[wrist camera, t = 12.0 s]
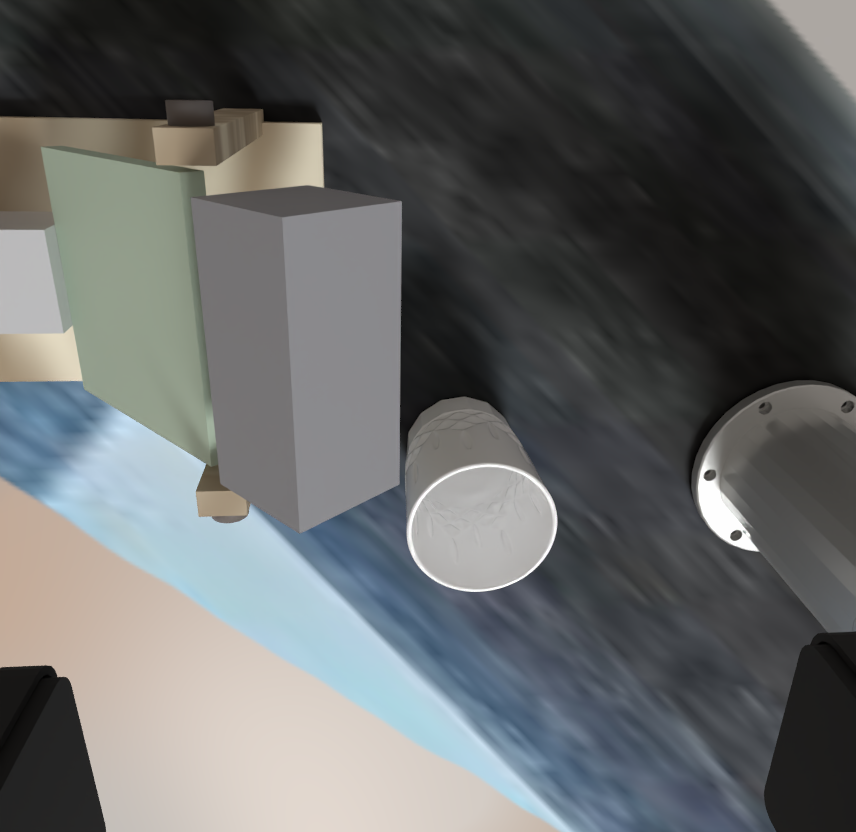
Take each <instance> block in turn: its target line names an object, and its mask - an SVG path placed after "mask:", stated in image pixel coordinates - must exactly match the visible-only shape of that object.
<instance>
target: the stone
mask: <svg viewBox="0 0 856 832" xmlns="http://www.w3.org/2000/svg"><path fill="white" fill-rule="evenodd" d="M72 326H73V324H72V319H71V313H70V307H69V302H68V296H67V291H66V285H65V280H64V274H63V268H62V263H61V257H60V252H59V246H58V241H57V235H56V230H55V224H54V218H53V213H52V212H33V211H0V334H55V333H65V332H66V331H67V330H68V329H69V328H70V327H72Z"/></svg>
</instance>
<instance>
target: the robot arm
mask: <svg viewBox="0 0 856 832" xmlns="http://www.w3.org/2000/svg"><path fill="white" fill-rule="evenodd" d="M691 489H692V494H693V500H694V504H695V506H696V508H697V510H698V512H699V515H700V516H701V518H702V519H703V520H704V522H705V523H706V524H707V526H708V527H709V528H710V529H711V530H712V531H713V532H714V533H715V534H716V535H717V536H718V537H719V538H720V539H722V540H724V541H725V542H727V543H728V544H730V545H733V546H736V547H739V548H741V549H744V550H750V551H757V552H761V554H762V555H763V556H764V557H765V558H766V559H767V561H768V562H769V563H770V564H771V565H772V567H773V568H774V569H775V570H776V571H777V573H778V574H779V575H780V576H781V577H782V578H783V580H784V581H785V582H786V583H787V584H788V586H789V587H790V588H791V589H792V590H793V591H794V593H795V594H796V595H797V596H798V597H799V599H800V600H801V601H802V602H803V603H804V605H805V606H806V607H807V608H808V609H809V610H810V612H811V613H812V614H813V615H814V616H815V618H816V619H817V620H818V621H819V622H820V623H821V625H822V626H823V627H824V628H825V629H826V631H827V632H828V633H819V634H817V635H816V636H815V637H814V638H813V640H812V642H811V644H810V645H805V646H804V647H803V648H802V650H801V652H800V655H799V659H798V663H797V667H796V670H795V674H794V678H793V682H792V686H791V690H790V693H789V697H788V701H787V705H786V709H785V713H784V716H783V720H782V724H781V728H780V732H779V736H778V739H777V743H776V747H775V751H774V755H773V759H772V762H771V766H770V770H769V774H768V778H767V782H766V785H765V791H764V799H765V805H766V809H767V813H768V816H769V818H770V820H771V822H772V824H773V826H774V828H775V830H776V832H856V396H854V395H852V394H851V393H849V392H848V391H846V390H845V389H842V388H840V387H838V386H835V385H833V384H831V383H826V382H821V381H815V380H795V381H790V382H784V383H779V384H775V385H773V386H770V387H767V388H765V389H762V390H759V391H757V392H755V393H754V394H752V395H750V396H748V397H746V398H745V399H743V400H741V401H740V402H739V403H737V404H736V405H735V406H734V407H732V408H731V409H730V410H728V411H727V412H726V413H725V414H724V415H723V416H722V417H721V418H720V419H719V420H718V422H717V423H716V424H715V425H714V426H713V427H712V429H711V430H710V432H709V433H708V434H707V436H706V437H705V439H704V440H703V442H702V444H701V447H700V449H699V451H698V453H697V455H696V458H695V462H694V466H693V470H692V484H691ZM0 832H106V827H105V822H104V818H103V814H102V809H101V805H100V801H99V797H98V794H97V789H96V785H95V781H94V776H93V772H92V768H91V764H90V760H89V756H88V752H87V748H86V744H85V740H84V736H83V731H82V727H81V723H80V719H79V715H78V711H77V707H76V703H75V699H74V694H73V690H72V687H71V683H70V681H69V679H68V678H66V677H57V674H56V672H55V670H54V669H53V668H52V666H23V667H2V668H0Z"/></svg>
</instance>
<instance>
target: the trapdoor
mask: <svg viewBox="0 0 856 832" xmlns="http://www.w3.org/2000/svg"><path fill="white" fill-rule="evenodd" d="M41 152H42V157H43V163H44V168H45V174H46V179H47V185H48V191H49V196H50V202H51V207H52V213H53V218H54V224H55V230H56V235H57V241H58V246H59V252H60V257H61V263H62V268H63V274H64V280H65V285H66V291H67V296H68V302H69V307H70V313H71V319H72V324H73V330H74V335H75V341H76V346H77V352H78V358H79V363H80V369H81V374H82V380H83V385H84V389H85V390H86V391H88V392H90V393H91V394H93V395H95V396H96V397H98V398H99V399H101V400H103V401H104V402H106V403H108V404H109V405H111V406H113V407H114V408H116V409H118V410H119V411H121V412H122V413H124V414H126V415H127V416H129V417H131V418H132V419H134V420H136V421H137V422H139V423H140V424H142V425H144V426H145V427H147V428H149V429H150V430H152V431H154V432H155V433H157V434H158V435H160V436H162V437H163V438H165V439H167V440H168V441H170V442H172V443H173V444H175V445H176V446H178V447H180V448H181V449H183V450H185V451H186V452H188V453H190V454H191V455H193V456H194V457H196V458H198V459H199V460H201V461H203V462H204V463H206V464H208V465H209V466H211V467H212V466H215V465H218V466H219V475H220V484H221V485H223V486H225V487H226V488H228V489H229V490H231V491H233V492H234V493H236V494H237V495H239V496H241V497H242V498H244V499H245V500H247V501H248V502H250V503H252V504H253V505H255V506H256V507H258V508H260V509H261V510H263V511H264V512H266V513H268V514H269V515H271V516H272V517H274V518H276V519H277V520H279V521H280V522H282V523H284V524H285V525H287V526H288V527H290V528H292V529H293V530H295V531H296V532H298V533H299V534H300V533H302V532H304V531H306V530H308V529H310V528H312V527H314V526H316V525H318V524H320V523H322V522H324V521H326V520H328V519H330V518H332V517H334V516H336V515H338V514H340V513H342V512H344V511H346V510H348V509H350V508H352V507H355V506H357V505H359V504H361V503H363V502H365V501H367V500H369V499H371V498H373V497H375V496H377V495H379V494H381V493H383V492H385V491H387V490H389V489H391V488H393V487H395V486H397V485H399V460H400V350H401V240H402V201H398V200H392V199H386V198H380V197H375V196H369V195H363V194H357V193H351V192H345V191H340V190H334V189H328V188H322V187H316V186H311V185H304V186H294V187H285V188H275V189H265V190H256V191H246V192H236V193H227V194H217V195H207V196H206V187H205V177H204V171H202V170H197V169H191V168H185V167H180V166H174V165H156V162H151V161H146V160H140V159H135V158H129V157H123V156H118V155H112V154H106V153H101V152H95V151H90V150H84V149H78V148H73V147H67V146H46V147H41Z"/></svg>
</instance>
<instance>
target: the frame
mask: <svg viewBox="0 0 856 832" xmlns="http://www.w3.org/2000/svg"><path fill="white" fill-rule="evenodd" d="M165 105H166V114H167V120H162V119H113V118H63V117H14V116H0V211H33V212H52V207H51V202H50V196H49V191H48V185H47V179H46V174H45V168H44V163H43V157H42V152H41V147H46V146H67V147H73V148H78V149H84V150H90V151H95V152H101V153H106V154H112V155H118V156H123V157H129V158H135V159H140V160H146V161H151V162H156V165H174V166H180V167H185V168H191V169H197V170H202V171H204V177H205V187H206V196H207V195H217V194H227V193H236V192H246V191H256V190H265V189H275V188H285V187H294V186H304V185H311V186H316V187H322V188H324V165H323V134H322V123H311V122H264V113H263V109H235V108H223V109H219V110H215V111H214V108H213V101H209V100H165ZM12 381H83V380H82V374H81V369H80V363H79V358H78V352H77V346H76V341H75V335H74V330H73V326H72V327H70V328H69V329H68V330H67V331H66V332H65V333H55V334H0V382H12ZM196 497H197V506H198V514H199V517H204V516H212V518H213V519H214V520H215V521H217V522H220V523H233V522H237V521H240V520H242V519H244V518H245V517H246V516H247V515H248V513H249V507H250V502H248V501H247V500H245V499H244V498H242V497H241V496H239V495H237V494H236V493H234V492H233V491H231V490H229V489H228V488H226V487H225V486H223V485H221V484H220V475H219V466H218V465H215V466H212V467H211V466H209V465H208V464H206V466H205V469H204V472H203V474H202V477H201V479H200V482H199V485H198V487H197V490H196Z"/></svg>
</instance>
